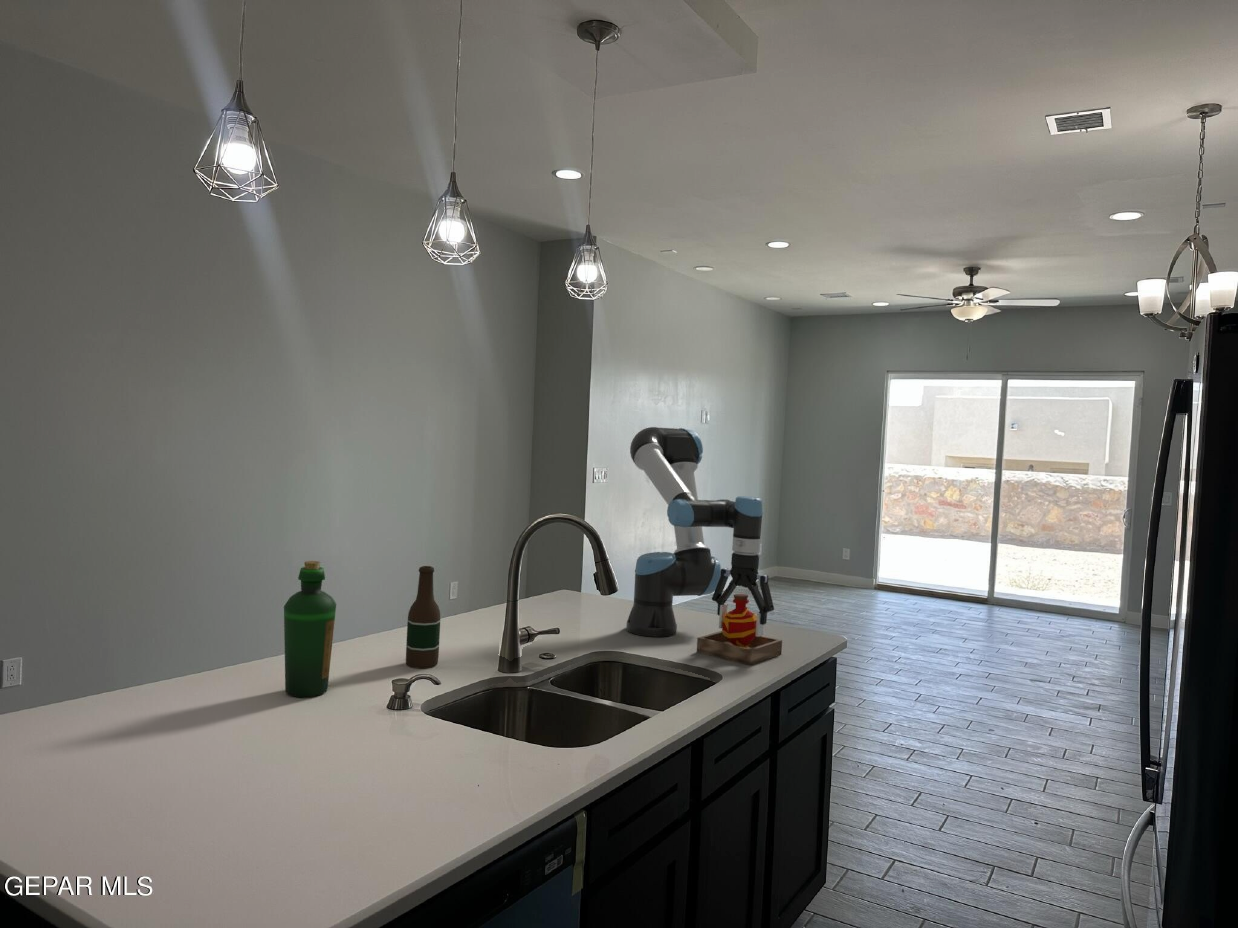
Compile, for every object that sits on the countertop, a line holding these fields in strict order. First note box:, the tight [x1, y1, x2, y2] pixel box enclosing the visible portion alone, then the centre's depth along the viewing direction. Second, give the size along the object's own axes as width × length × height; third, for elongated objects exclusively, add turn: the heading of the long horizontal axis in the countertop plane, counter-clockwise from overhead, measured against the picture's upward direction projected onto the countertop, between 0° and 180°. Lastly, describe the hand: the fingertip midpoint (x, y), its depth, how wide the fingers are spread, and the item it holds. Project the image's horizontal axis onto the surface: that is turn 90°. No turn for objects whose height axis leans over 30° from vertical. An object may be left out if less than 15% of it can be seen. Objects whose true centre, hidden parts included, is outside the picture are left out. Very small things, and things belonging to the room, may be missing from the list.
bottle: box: [283, 560, 337, 698], centre depth 183 cm, size 11×11×28 cm
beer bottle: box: [405, 565, 441, 670], centre depth 208 cm, size 8×8×24 cm
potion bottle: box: [721, 593, 757, 649], centre depth 237 cm, size 10×10×15 cm
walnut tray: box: [696, 630, 783, 666], centre depth 237 cm, size 17×17×4 cm
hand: (740, 631), depth 237 cm, fingers open, 11 cm apart
